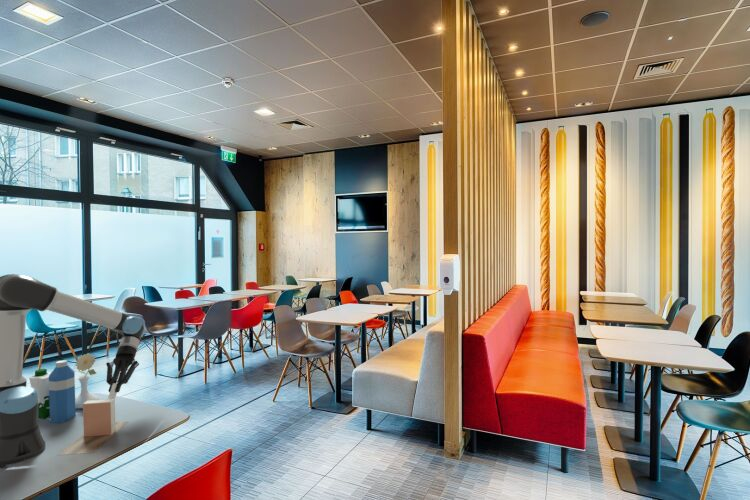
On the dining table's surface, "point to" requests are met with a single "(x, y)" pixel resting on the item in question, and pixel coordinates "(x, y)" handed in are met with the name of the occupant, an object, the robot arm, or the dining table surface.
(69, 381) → the water bottle
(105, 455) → the dining table surface
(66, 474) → the dining table surface
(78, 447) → the walnut board
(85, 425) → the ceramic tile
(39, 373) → the milk carton
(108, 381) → the robot arm
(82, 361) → the flower in vase
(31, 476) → the dining table surface
